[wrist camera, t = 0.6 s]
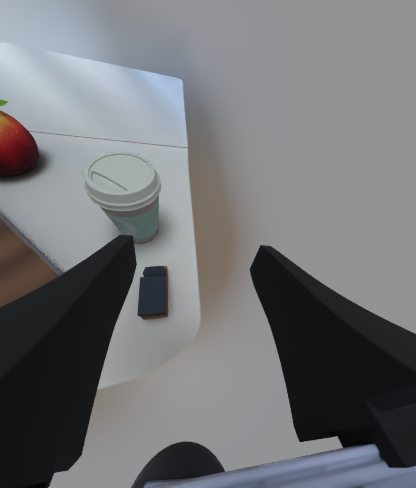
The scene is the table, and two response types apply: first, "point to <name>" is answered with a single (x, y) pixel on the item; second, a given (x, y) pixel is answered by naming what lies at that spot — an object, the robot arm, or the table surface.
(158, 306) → the cube on wooden base
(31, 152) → the fruit
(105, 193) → the coffee cup
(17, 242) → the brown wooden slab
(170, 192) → the table surface
